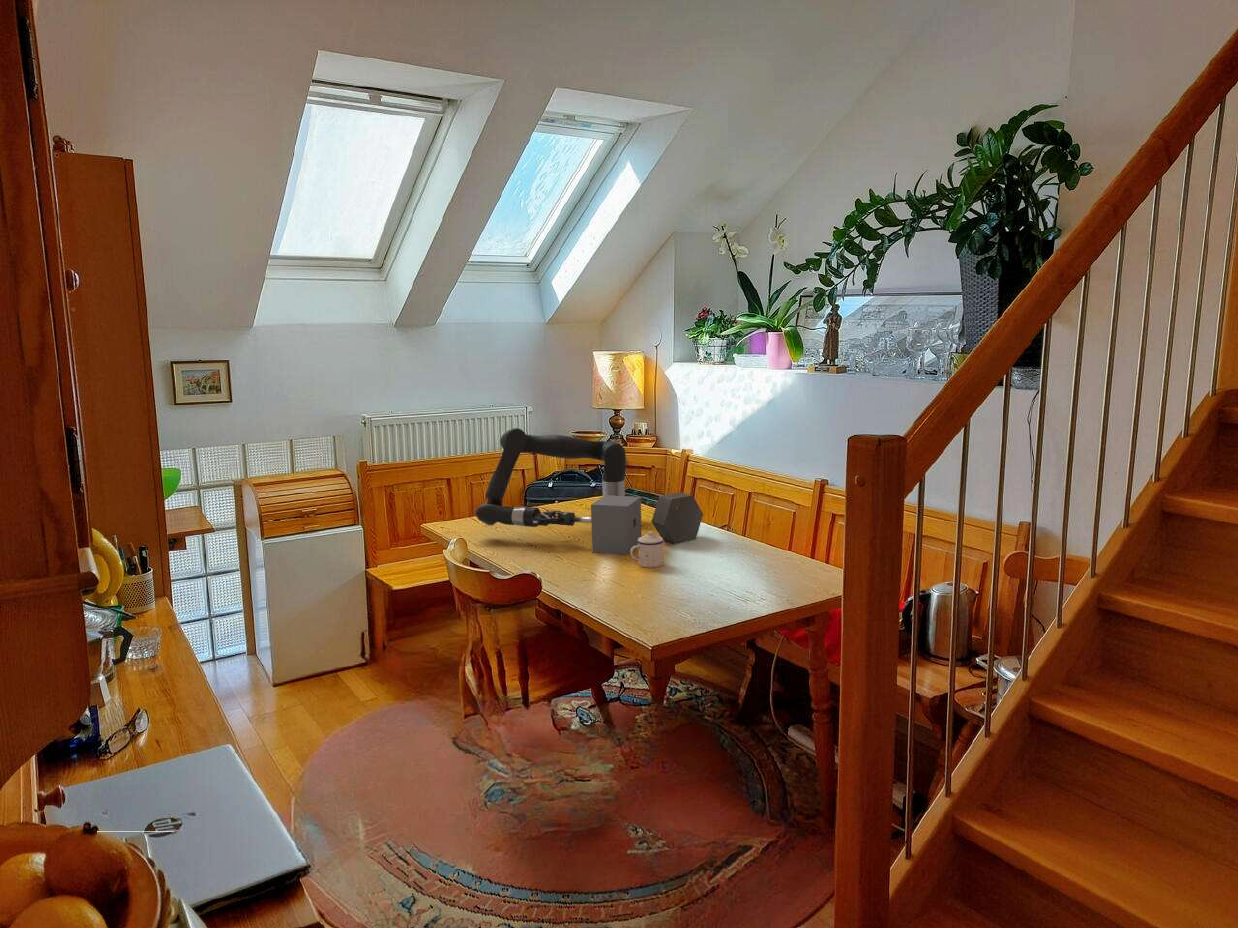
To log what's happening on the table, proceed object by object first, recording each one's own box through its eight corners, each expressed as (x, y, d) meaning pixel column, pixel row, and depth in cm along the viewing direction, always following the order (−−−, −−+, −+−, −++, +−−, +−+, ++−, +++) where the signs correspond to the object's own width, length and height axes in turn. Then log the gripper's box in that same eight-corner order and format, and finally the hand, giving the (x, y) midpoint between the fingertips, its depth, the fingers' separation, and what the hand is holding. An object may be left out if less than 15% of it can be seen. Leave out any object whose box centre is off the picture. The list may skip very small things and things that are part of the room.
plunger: (563, 523, 329) (562, 510, 328) (610, 526, 323) (609, 513, 322) (558, 526, 324) (557, 513, 323) (605, 529, 318) (605, 516, 317)
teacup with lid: (658, 559, 304) (657, 527, 302) (668, 566, 296) (667, 533, 294) (626, 563, 301) (625, 531, 299) (635, 570, 292) (634, 537, 290)
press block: (606, 541, 330) (605, 495, 327) (641, 543, 326) (640, 496, 323) (592, 552, 315) (590, 504, 312) (628, 554, 311) (627, 506, 308)
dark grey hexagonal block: (696, 520, 339) (673, 481, 329) (709, 524, 333) (686, 484, 323) (668, 549, 332) (644, 511, 323) (681, 554, 326) (657, 514, 317)
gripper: (517, 511, 323) (557, 513, 318) (533, 503, 337) (571, 505, 331) (518, 530, 325) (558, 533, 319) (534, 521, 338) (572, 523, 333)
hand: (565, 518), depth 325 cm, fingers open, 8 cm apart
